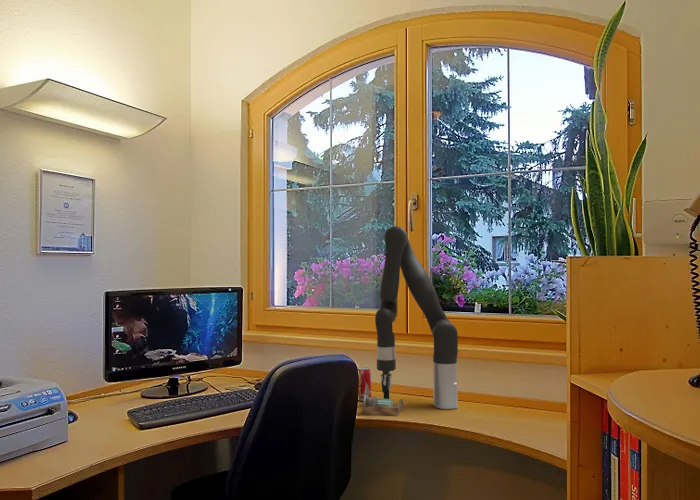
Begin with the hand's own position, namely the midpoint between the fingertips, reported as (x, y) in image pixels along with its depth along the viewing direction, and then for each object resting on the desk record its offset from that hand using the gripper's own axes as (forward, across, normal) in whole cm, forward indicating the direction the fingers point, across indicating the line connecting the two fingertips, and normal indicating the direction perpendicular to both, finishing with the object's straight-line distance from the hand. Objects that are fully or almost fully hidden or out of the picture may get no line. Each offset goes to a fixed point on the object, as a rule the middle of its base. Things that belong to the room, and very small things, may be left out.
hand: (386, 401), depth 217 cm
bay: (+2, -8, +1) cm, 8 cm away
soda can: (+2, +8, +11) cm, 14 cm away
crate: (+2, -8, +2) cm, 9 cm away
